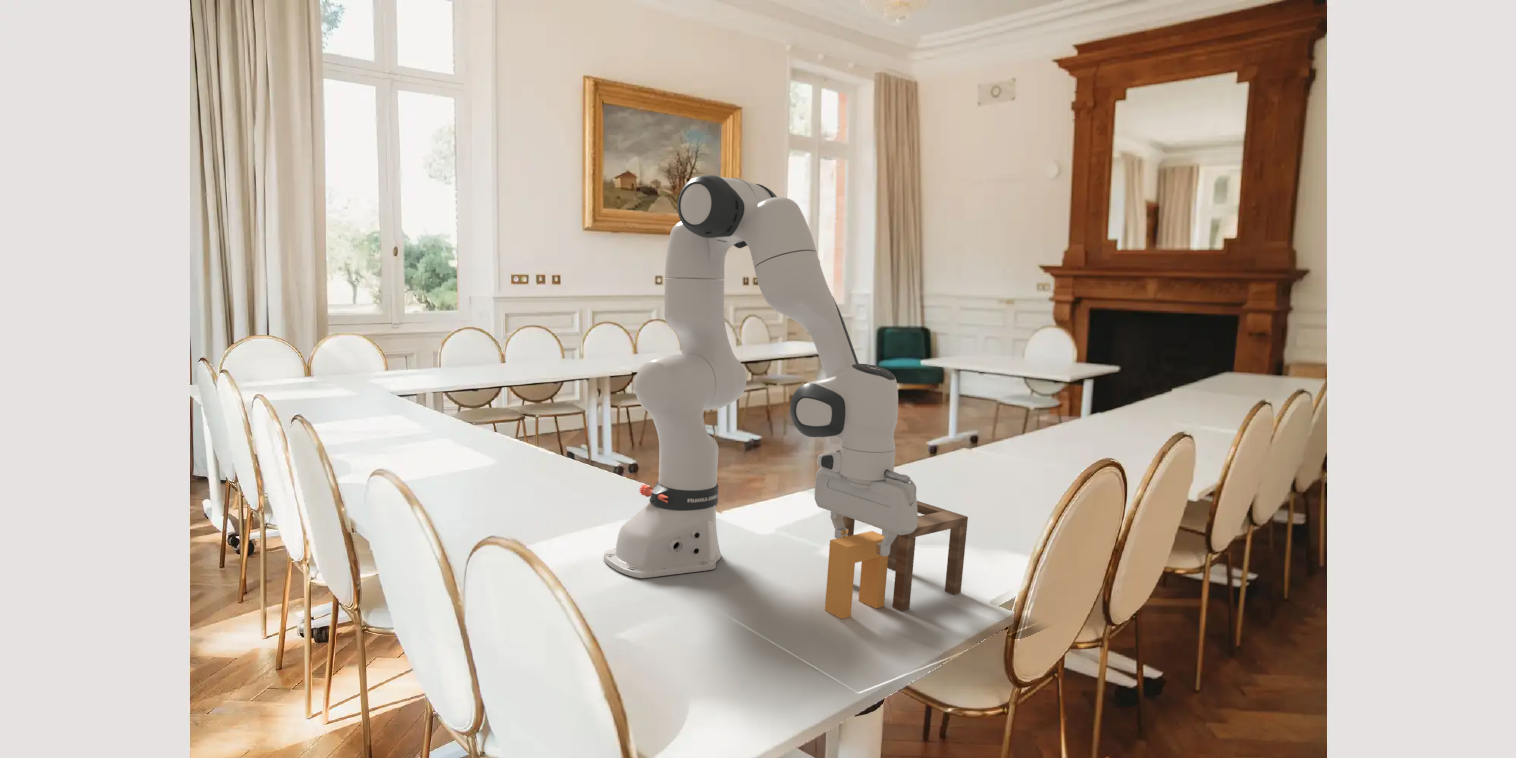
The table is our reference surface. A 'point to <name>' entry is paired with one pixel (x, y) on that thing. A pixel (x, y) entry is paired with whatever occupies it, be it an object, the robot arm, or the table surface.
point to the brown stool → (905, 548)
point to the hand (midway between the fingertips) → (861, 546)
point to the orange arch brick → (842, 573)
